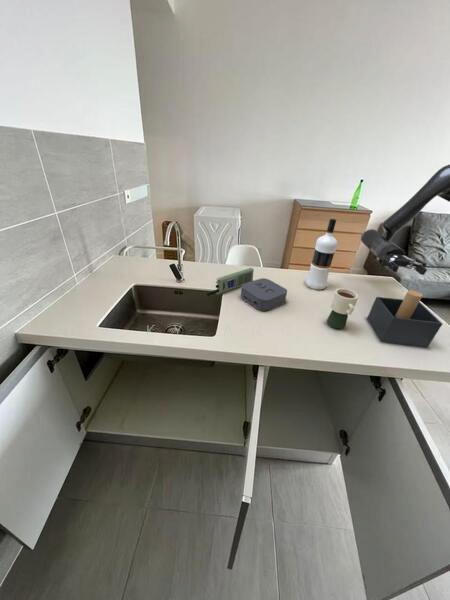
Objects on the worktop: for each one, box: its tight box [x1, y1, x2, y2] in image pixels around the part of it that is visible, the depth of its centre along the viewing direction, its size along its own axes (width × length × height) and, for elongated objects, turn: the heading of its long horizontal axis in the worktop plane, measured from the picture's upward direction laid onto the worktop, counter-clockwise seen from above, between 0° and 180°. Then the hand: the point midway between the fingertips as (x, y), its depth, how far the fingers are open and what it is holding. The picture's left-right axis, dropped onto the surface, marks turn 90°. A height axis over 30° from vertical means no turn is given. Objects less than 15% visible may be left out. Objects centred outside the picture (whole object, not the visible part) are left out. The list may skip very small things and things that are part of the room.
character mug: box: [326, 287, 359, 330], centre depth 83 cm, size 11×7×13 cm, turn 4°
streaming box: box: [240, 278, 288, 312], centre depth 98 cm, size 14×14×5 cm
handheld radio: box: [206, 267, 254, 297], centre depth 104 cm, size 7×3×25 cm
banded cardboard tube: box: [394, 289, 423, 319], centre depth 80 cm, size 4×4×15 cm
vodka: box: [304, 218, 338, 291], centre depth 104 cm, size 9×9×30 cm
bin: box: [366, 296, 443, 349], centre depth 82 cm, size 14×13×10 cm
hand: (410, 270), depth 80 cm, fingers open, 8 cm apart
